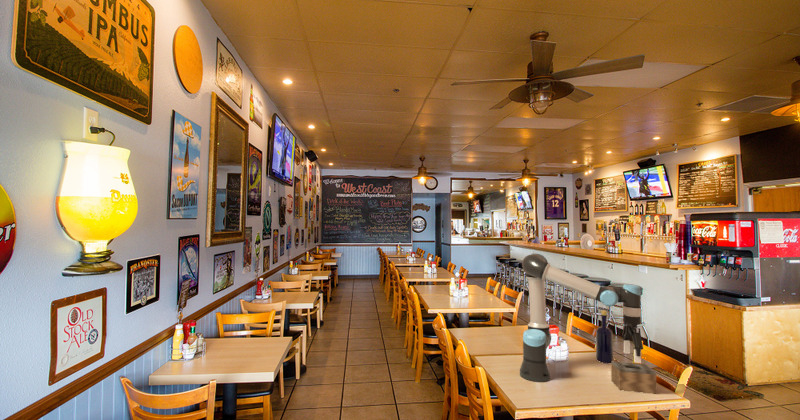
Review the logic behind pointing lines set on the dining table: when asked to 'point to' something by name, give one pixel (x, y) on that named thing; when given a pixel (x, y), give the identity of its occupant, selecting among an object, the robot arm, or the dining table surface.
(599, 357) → the bottle
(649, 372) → the coin box
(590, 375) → the dining table surface
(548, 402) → the dining table surface
